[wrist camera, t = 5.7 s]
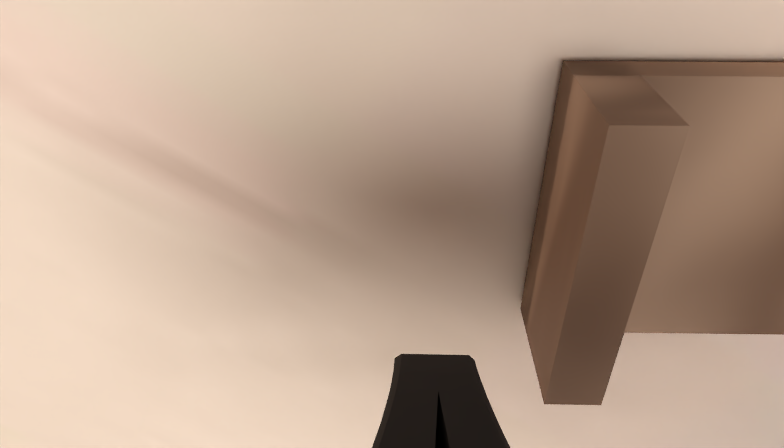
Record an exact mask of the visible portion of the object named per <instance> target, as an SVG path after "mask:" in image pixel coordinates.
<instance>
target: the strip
mask: <svg viewBox="0 0 784 448" xmlns="http://www.w3.org/2000/svg"><path fill="white" fill-rule="evenodd" d="M521 312H522V316H523V321H524V325H525V329H526V333H527V337H528V341H529V345H530V349H531V353H532V357H533V361H534V365H535V369H536V373H537V377H538V381H539V385H540V389H541V393H542V397H543V401H544V404H574V405H601V404H602V400H603V397H604V394H605V391H606V388H607V385H608V382H609V378H610V375H611V372H612V369H613V366H614V363H615V360H616V357H617V353H618V350H619V347H620V344H621V341H622V338H623V335H624V332H631V333H711V334H784V62H657V61H563V65H562V71H561V76H560V82H559V88H558V94H557V100H556V106H555V111H554V117H553V123H552V129H551V135H550V140H549V146H548V152H547V158H546V164H545V170H544V175H543V181H542V187H541V193H540V199H539V204H538V210H537V216H536V222H535V228H534V233H533V239H532V245H531V251H530V257H529V263H528V268H527V274H526V280H525V286H524V292H523V297H522V303H521Z"/></svg>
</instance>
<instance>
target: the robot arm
mask: <svg viewBox="0 0 784 448" xmlns="http://www.w3.org/2000/svg"><path fill="white" fill-rule="evenodd" d="M372 448H510V446H509V444H508V442H507V440H506V438H505V436H504V434H503V432H502V430H501V428H500V425H499V423H498V421H497V419H496V416H495V414H494V412H493V410H492V407H491V405H490V403H489V400H488V398H487V395H486V393H485V390H484V388H483V385H482V382H481V379H480V377H479V374H478V371H477V368H476V364H475V361H474V359H473V358H471V357H470V356H469V355H428V354H401V355H399V356H398V357H396V358H395V362H394V372H393V378H392V383H391V388H390V392H389V396H388V400H387V404H386V407H385V410H384V414H383V417H382V421H381V424H380V427H379V430H378V432H377V435H376V438H375V441H374V444H373V447H372Z"/></svg>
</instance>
